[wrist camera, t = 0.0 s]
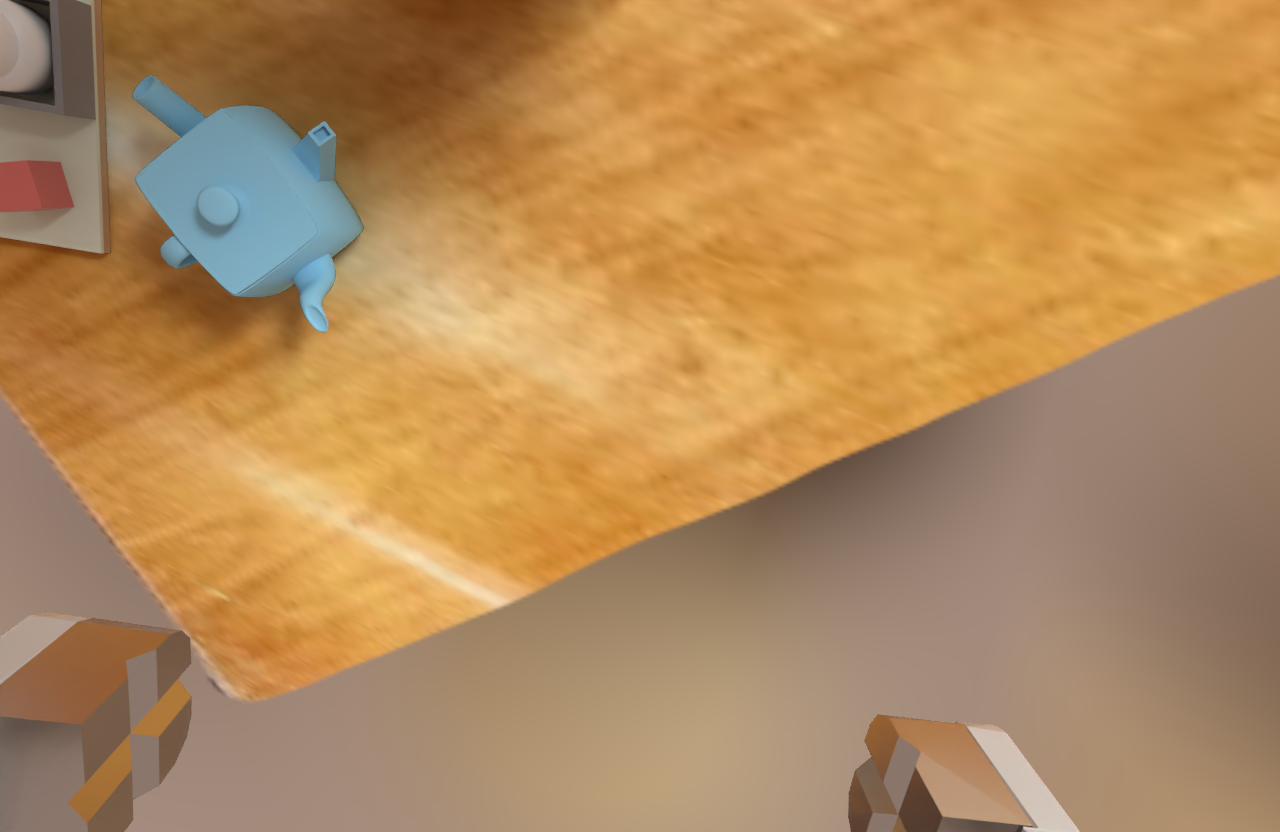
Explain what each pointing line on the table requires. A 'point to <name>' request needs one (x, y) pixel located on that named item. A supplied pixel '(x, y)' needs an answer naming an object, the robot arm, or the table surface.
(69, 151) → the board
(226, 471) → the table surface
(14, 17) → the dome
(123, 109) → the table surface
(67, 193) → the red cube
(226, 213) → the teapot
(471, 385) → the table surface
